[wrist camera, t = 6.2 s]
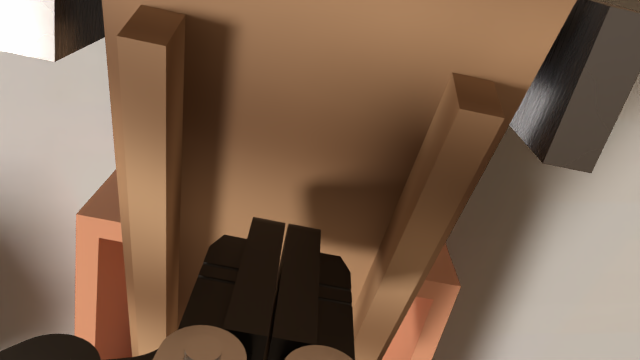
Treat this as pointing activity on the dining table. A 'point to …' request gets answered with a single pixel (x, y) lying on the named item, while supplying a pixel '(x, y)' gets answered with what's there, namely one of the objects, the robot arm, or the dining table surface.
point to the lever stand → (529, 120)
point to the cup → (112, 306)
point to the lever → (309, 134)
